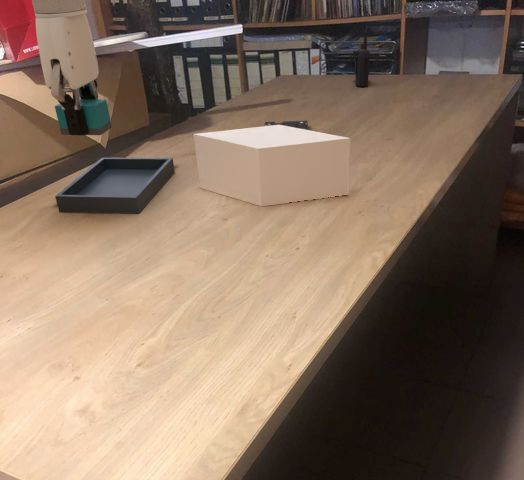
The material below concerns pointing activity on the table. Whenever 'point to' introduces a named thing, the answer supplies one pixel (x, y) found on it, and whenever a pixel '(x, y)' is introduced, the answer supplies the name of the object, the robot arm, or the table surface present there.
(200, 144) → the white rectangular box
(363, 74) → the two-way radio
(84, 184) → the tray
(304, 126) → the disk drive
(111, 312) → the table surface
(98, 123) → the eraser
